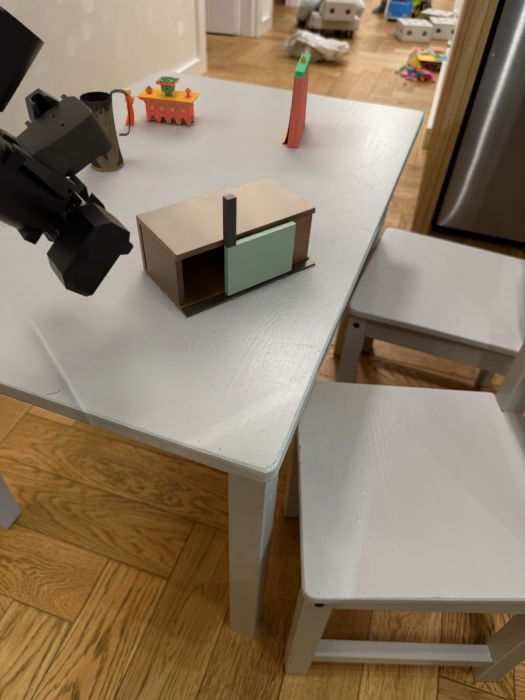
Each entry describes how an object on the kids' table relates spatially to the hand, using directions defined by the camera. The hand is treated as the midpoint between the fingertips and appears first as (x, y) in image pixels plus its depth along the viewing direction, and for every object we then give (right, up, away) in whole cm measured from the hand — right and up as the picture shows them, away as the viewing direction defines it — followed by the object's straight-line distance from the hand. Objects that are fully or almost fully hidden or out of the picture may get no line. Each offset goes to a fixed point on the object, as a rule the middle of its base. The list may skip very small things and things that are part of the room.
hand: (129, 248), depth 49 cm
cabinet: (+9, +1, +18) cm, 20 cm away
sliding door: (+13, -1, +15) cm, 19 cm away
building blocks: (+4, +35, +52) cm, 63 cm away
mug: (-13, +22, +38) cm, 45 cm away
